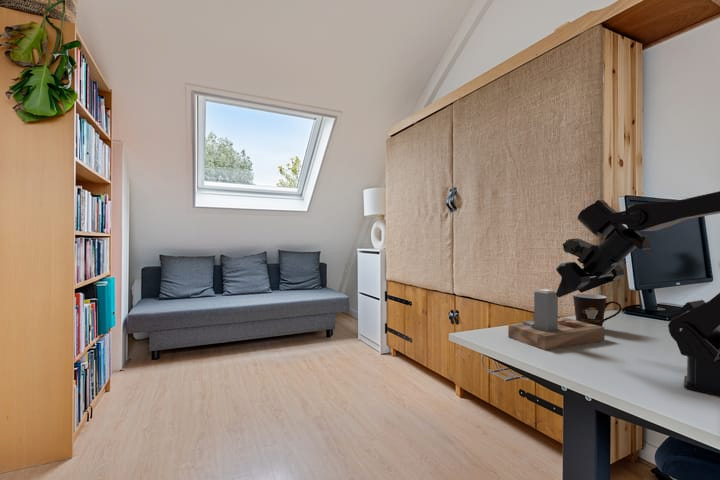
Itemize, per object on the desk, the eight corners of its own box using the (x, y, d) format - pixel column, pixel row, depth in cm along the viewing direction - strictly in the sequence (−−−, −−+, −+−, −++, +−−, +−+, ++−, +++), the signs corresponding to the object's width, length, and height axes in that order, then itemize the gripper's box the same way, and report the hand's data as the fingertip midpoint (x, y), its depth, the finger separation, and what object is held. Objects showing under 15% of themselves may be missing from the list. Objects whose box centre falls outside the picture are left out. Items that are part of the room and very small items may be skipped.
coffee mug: (568, 328, 111) (568, 295, 110) (578, 323, 116) (579, 292, 116) (613, 336, 102) (613, 301, 102) (622, 331, 107) (622, 297, 107)
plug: (557, 341, 96) (557, 290, 96) (547, 343, 94) (547, 291, 94) (543, 337, 100) (544, 288, 100) (534, 339, 98) (534, 289, 98)
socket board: (604, 340, 98) (604, 325, 98) (544, 350, 90) (544, 333, 90) (564, 329, 110) (564, 315, 110) (508, 337, 101) (508, 322, 101)
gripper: (607, 224, 92) (568, 266, 102) (561, 228, 83) (523, 274, 93) (645, 256, 85) (599, 297, 95) (599, 263, 76) (554, 308, 86)
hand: (568, 293), depth 92 cm, fingers open, 9 cm apart
